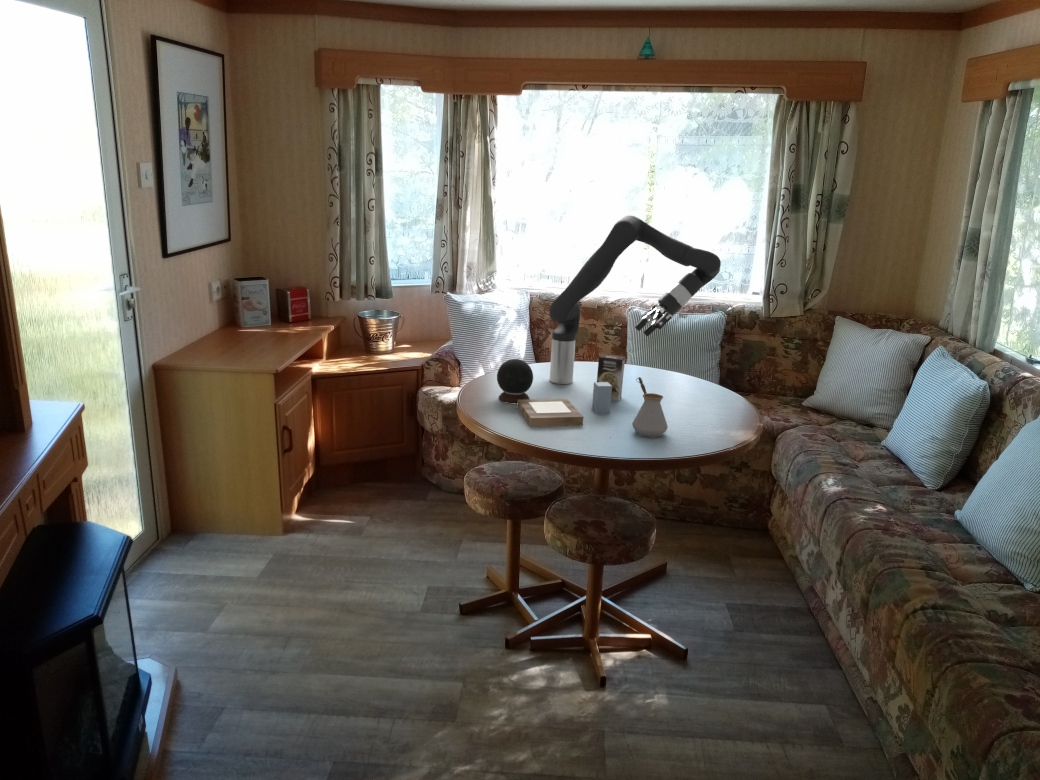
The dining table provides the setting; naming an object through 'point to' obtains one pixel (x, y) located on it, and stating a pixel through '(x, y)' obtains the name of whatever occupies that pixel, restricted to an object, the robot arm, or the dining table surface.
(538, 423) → the wooden board
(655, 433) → the coffee pot
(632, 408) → the dining table surface
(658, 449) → the dining table surface
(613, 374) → the coffee box
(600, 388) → the slate block
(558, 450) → the dining table surface
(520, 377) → the black ball on pedestal
